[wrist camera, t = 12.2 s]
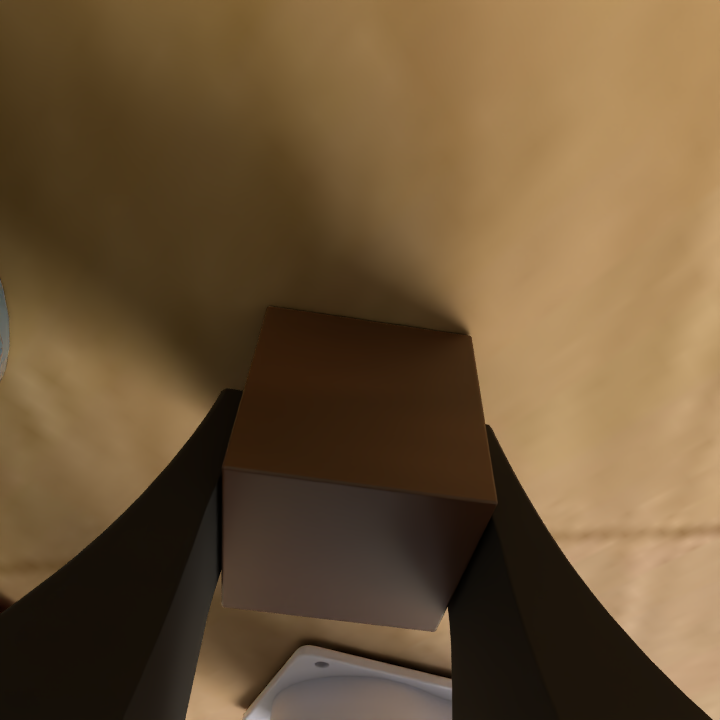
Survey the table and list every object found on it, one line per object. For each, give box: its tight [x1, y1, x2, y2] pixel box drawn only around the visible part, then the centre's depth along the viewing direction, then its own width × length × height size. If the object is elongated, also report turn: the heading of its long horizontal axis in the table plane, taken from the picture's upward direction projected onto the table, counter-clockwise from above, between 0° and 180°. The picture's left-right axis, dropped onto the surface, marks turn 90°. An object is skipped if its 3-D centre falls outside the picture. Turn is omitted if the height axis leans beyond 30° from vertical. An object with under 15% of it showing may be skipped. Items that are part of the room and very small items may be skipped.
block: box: [221, 306, 498, 632], centre depth 13 cm, size 4×4×4 cm
